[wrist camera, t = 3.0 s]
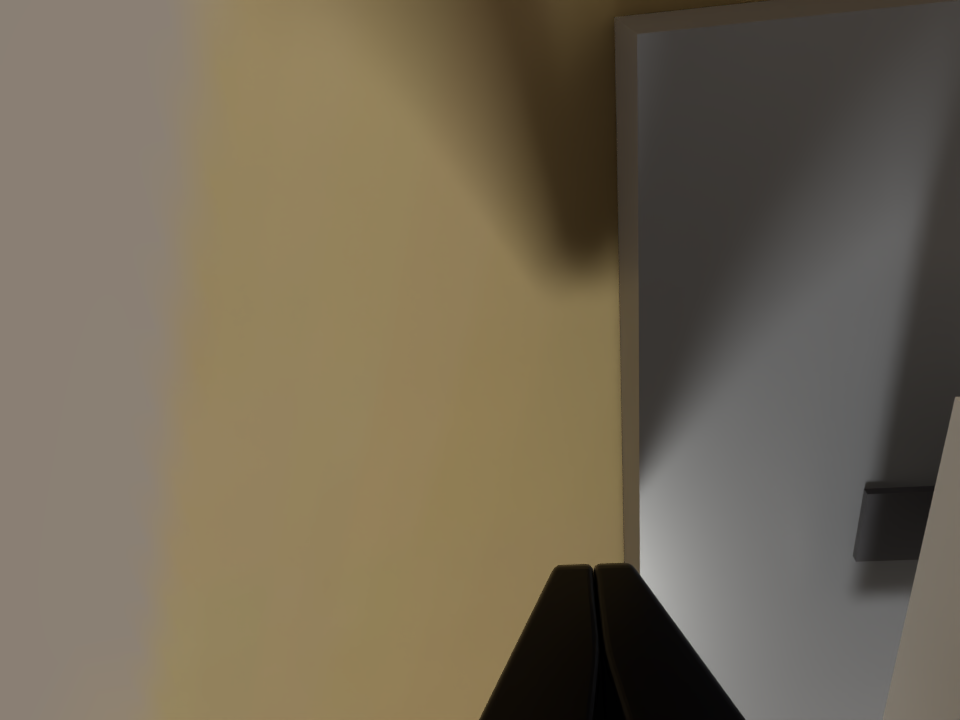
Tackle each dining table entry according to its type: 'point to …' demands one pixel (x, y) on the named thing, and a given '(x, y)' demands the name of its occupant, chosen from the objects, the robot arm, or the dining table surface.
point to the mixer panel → (787, 331)
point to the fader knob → (934, 606)
